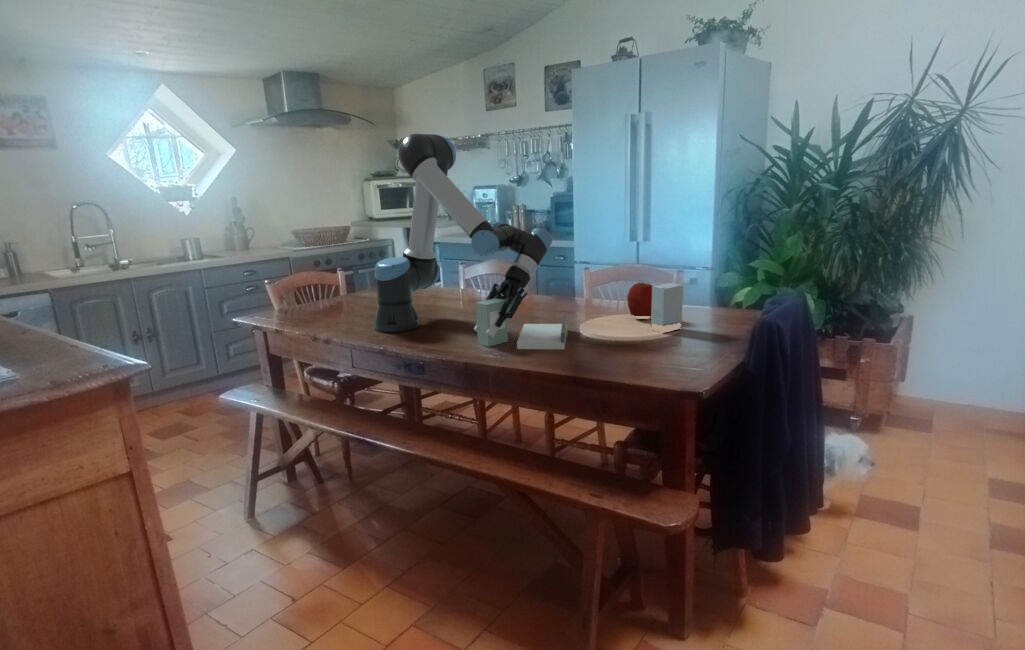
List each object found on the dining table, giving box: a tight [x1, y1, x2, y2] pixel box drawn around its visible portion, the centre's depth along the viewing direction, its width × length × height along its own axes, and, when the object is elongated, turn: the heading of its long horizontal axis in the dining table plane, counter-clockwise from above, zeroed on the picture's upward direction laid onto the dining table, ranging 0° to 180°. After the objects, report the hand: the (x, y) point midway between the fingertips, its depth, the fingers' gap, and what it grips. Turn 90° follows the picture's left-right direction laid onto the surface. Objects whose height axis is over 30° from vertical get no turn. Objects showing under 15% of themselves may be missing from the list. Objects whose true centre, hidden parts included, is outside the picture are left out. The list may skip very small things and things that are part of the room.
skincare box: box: [650, 282, 684, 326], centre depth 188 cm, size 8×6×15 cm
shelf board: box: [516, 314, 568, 350], centre depth 184 cm, size 15×22×5 cm, turn 173°
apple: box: [626, 282, 653, 316], centre depth 203 cm, size 10×10×14 cm
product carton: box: [475, 298, 509, 348], centre depth 181 cm, size 5×8×13 cm, turn 133°
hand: (483, 332), depth 179 cm, fingers closed on product carton, 5 cm apart
